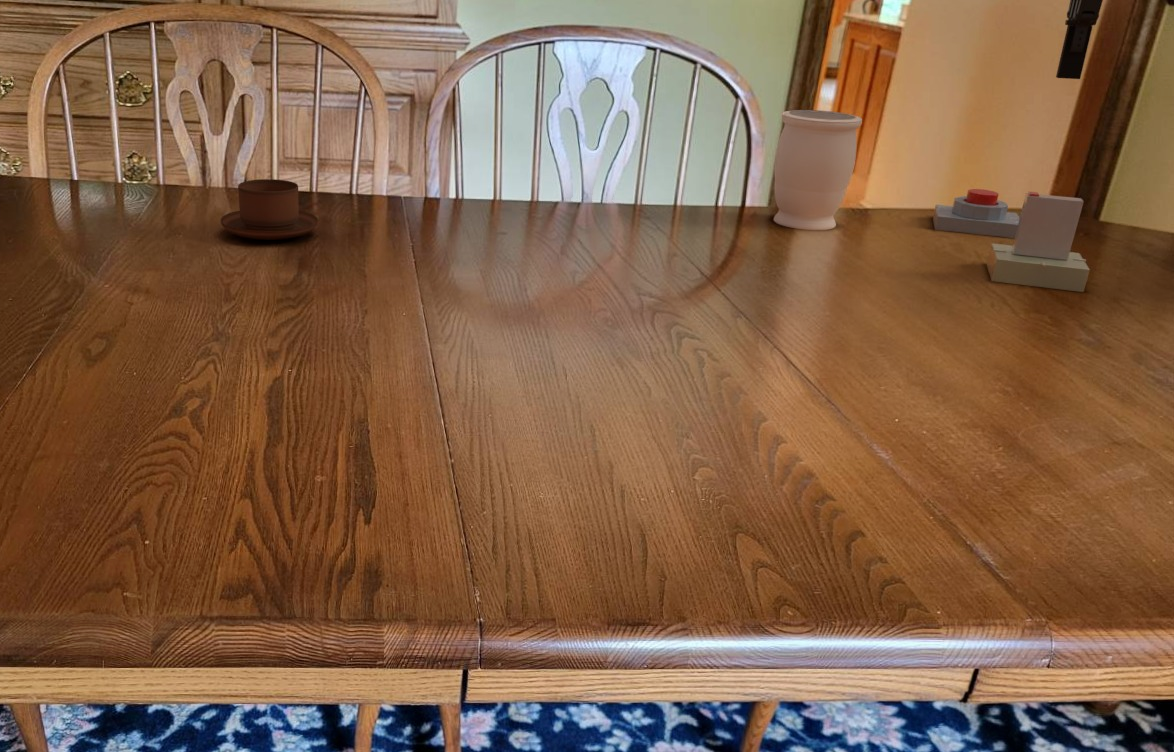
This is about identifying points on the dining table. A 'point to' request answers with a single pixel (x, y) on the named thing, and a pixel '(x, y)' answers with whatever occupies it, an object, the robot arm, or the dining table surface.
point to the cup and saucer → (269, 211)
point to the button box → (976, 218)
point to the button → (982, 197)
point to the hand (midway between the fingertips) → (1067, 77)
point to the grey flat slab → (1047, 226)
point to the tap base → (1037, 269)
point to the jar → (813, 167)
